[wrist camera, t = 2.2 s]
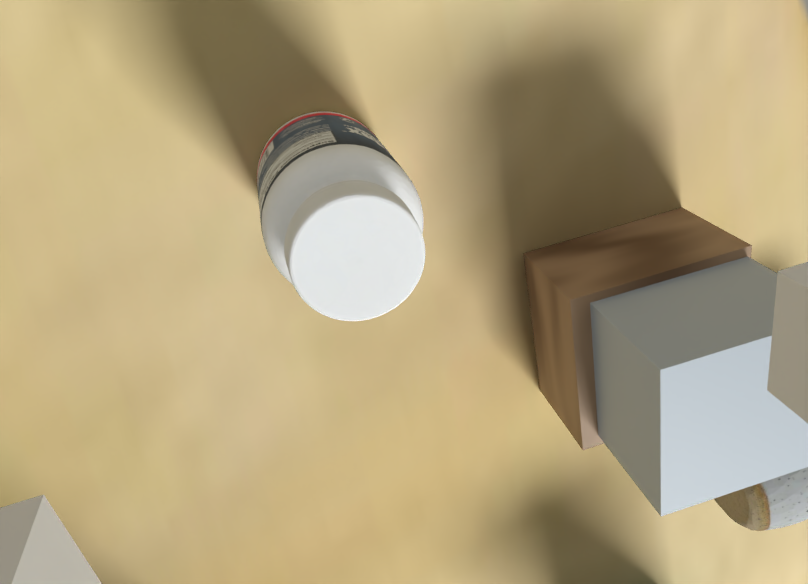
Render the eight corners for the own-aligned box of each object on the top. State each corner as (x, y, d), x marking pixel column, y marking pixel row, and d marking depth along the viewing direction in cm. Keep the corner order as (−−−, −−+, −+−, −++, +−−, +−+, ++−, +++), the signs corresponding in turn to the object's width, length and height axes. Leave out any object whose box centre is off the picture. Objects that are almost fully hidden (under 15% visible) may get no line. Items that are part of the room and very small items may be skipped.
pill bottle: (410, 190, 28) (479, 279, 20) (307, 259, 28) (336, 373, 20) (340, 80, 25) (388, 133, 17) (228, 158, 25) (226, 244, 18)
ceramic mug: (664, 384, 36) (763, 483, 29) (798, 322, 36) (926, 406, 29) (688, 506, 41) (776, 613, 35) (805, 451, 41) (914, 547, 35)
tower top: (598, 435, 30) (661, 516, 25) (589, 302, 26) (660, 370, 22) (738, 390, 30) (822, 461, 26) (747, 256, 27) (845, 312, 23)
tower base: (538, 388, 34) (583, 450, 30) (521, 251, 30) (569, 300, 26) (678, 344, 35) (741, 398, 31) (679, 206, 31) (751, 245, 27)
